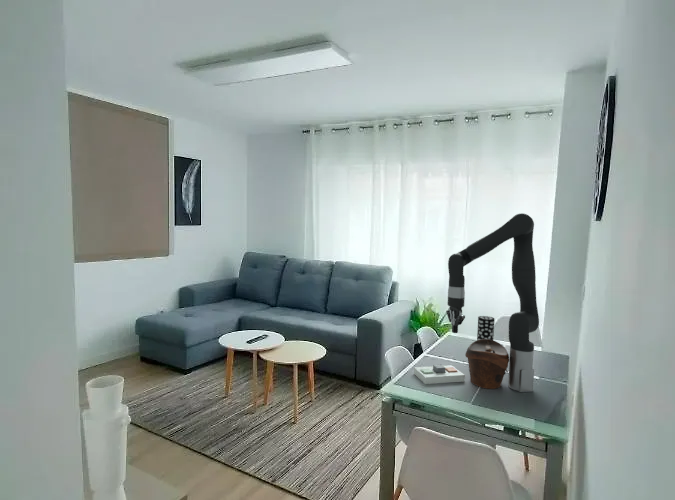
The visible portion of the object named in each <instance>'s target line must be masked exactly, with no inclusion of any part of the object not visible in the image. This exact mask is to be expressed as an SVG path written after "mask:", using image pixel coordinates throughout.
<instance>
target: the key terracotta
mask: <svg viewBox="0 0 675 500" xmlns="http://www.w3.org/2000/svg"><path fill="white" fill-rule="evenodd" d="M453 367H454V366H453ZM453 367H449V368H445V370H446V371H447V372H449V373H450V372H457V370H458V369H457V368H456V369H457V370H456V369H454V368H453Z"/></svg>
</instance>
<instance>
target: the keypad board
mask: <svg viewBox="0 0 675 500" xmlns="http://www.w3.org/2000/svg"><path fill="white" fill-rule="evenodd" d="M443 366H444V367H445V368H449V367H453V368H454V369H456V370H457V372H450V373H449V372H447V371H446V370H445V372H436V371H434V370H433V365H432V366H416V367H415V366H414V367H413V374H414V375H415V376H416V377H417V378H418V379H419V380H420V381H421V382H422V383H423V384H424V385H433V384H446V383H460V382H461V383H462V382H463V383H464V382H465V381H466V380H465V379H466V377H465V376H466V374H465V373H463V372H462V371H460V370H459V369H457V368H456V367H455V366H453V365H451V364H450V365H443ZM421 369H430V370H431V371H432V372H433V374H423V373H422V372H421Z"/></svg>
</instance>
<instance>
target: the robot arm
mask: <svg viewBox="0 0 675 500" xmlns="http://www.w3.org/2000/svg"><path fill="white" fill-rule="evenodd" d="M534 227H535V222H534V220H533V218H532V217H531V216H530V215H529V214H527V213H517V214H515V215H513V216H512V217H511V218H509V220H508V221H506V222H505V223H504V224H502V225H501V226H500V227H498V228H497V229H495V230H494V231H492V232H491V233H489V234H487V235H485V236H483V237H482V238H480V239H478V240H475V241H474V242H473V243H471V244H469V245H468V246H466V248H463V250H460V251H458V252H456V253H452V254H451V255H449V258H448V261H447V262H448V263H447V268H448V275H449V276H448V288H447V306H448V307H449V308H448V310H446V315H447V316H446V317H447V318H448V322H449V323H450V324H451V332H452V333H453V334H458V331H459V326H460V325H462V324H463V322H464V321H465V318H466V315H463V308H464V307H465V298H466V297H465V296H466V295H465V294H466V292H465V283H466V282H465V281H466V280H465V279H466V278H465V275H464V267H465V266H467V265H468V264H470V263H472V262H473V261H475V260H477V259H479V258H481V257H482V256H485V255H486V254H489V253H490V252H491V251H493V250H494V249H496V248H497V247H499V246H500V245H502V244H503V243H505V242H507V241H508V240H511V239H513V254H512V260H511V281H512V284H513V286H514V289H515V290H516V293H517V295H518V297H519V306H520V308H519V311H517V312H514V313H512V314H511V315H510V317H509V320H508V341H509V343H510V347H509V362H508V380H507V386H508V388H509V389H511V390H514V391H517V392H519V393H528V392H533V391H534V381H535V380H534V379H535V378H534V377H535V370H534V367H533V365H534V353H535V345H534V343H533V342H532V341H530V333H534V332H536V331H537V330H538V328H539V325H540V319H539V318H540V317H539V310H538V309H539V308H538V304H537V288H536V279H537V278H536V276H537V275H536V263H535V255H534V247H533V240H534Z"/></svg>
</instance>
